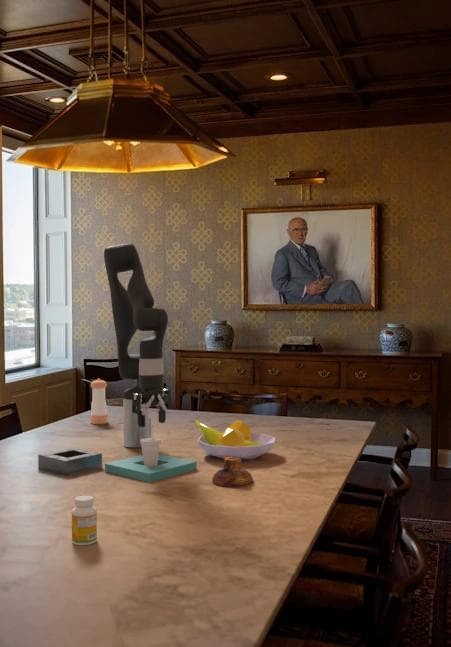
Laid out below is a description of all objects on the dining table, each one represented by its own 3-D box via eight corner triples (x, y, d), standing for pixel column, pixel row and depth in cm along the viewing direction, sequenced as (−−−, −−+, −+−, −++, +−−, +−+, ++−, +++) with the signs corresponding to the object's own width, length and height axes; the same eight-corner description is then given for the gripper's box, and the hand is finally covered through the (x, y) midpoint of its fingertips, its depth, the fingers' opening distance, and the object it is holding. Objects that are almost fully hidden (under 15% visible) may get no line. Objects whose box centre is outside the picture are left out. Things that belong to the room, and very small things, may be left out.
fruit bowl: (291, 455, 241) (291, 422, 241) (238, 469, 221) (238, 433, 221) (230, 443, 260) (230, 413, 260) (176, 456, 240) (176, 422, 240)
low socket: (152, 460, 234) (152, 452, 234) (196, 469, 221) (196, 461, 221) (105, 471, 218) (104, 463, 218) (149, 482, 205) (149, 473, 205)
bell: (206, 480, 208) (205, 455, 208) (242, 476, 213) (242, 452, 213) (222, 490, 198) (221, 464, 198) (260, 485, 203) (260, 460, 202)
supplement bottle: (73, 538, 158) (73, 494, 157) (98, 537, 158) (97, 494, 158) (70, 546, 152) (69, 501, 152) (95, 545, 153) (95, 500, 152)
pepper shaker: (106, 424, 302) (105, 379, 301) (89, 424, 302) (88, 379, 301) (109, 421, 309) (108, 377, 309) (92, 421, 309) (92, 377, 309)
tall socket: (74, 461, 233) (74, 447, 233) (102, 467, 224) (101, 453, 224) (38, 468, 222) (38, 454, 222) (65, 475, 213) (65, 461, 213)
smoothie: (157, 473, 216) (157, 427, 215) (137, 472, 217) (137, 427, 217) (163, 468, 222) (163, 424, 222) (144, 467, 223) (143, 423, 223)
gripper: (159, 369, 226) (159, 420, 227) (125, 374, 215) (126, 426, 216) (176, 371, 222) (176, 422, 222) (142, 375, 211) (143, 429, 211)
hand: (151, 424), depth 219 cm, fingers open, 8 cm apart
